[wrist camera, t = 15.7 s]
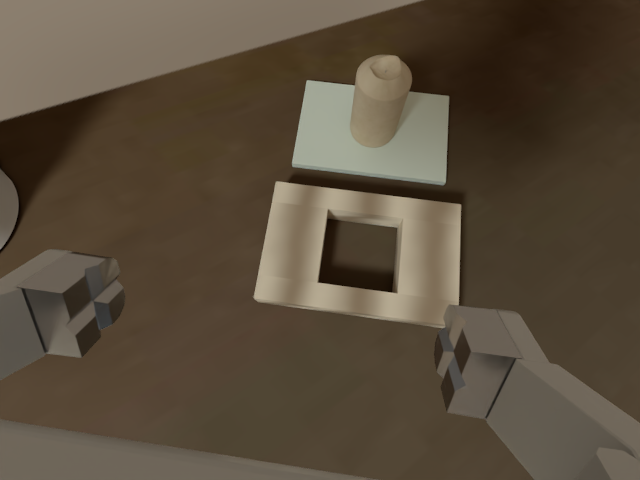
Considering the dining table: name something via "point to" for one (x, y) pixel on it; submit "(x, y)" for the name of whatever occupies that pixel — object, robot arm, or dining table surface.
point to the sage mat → (353, 158)
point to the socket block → (404, 213)
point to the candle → (379, 99)
